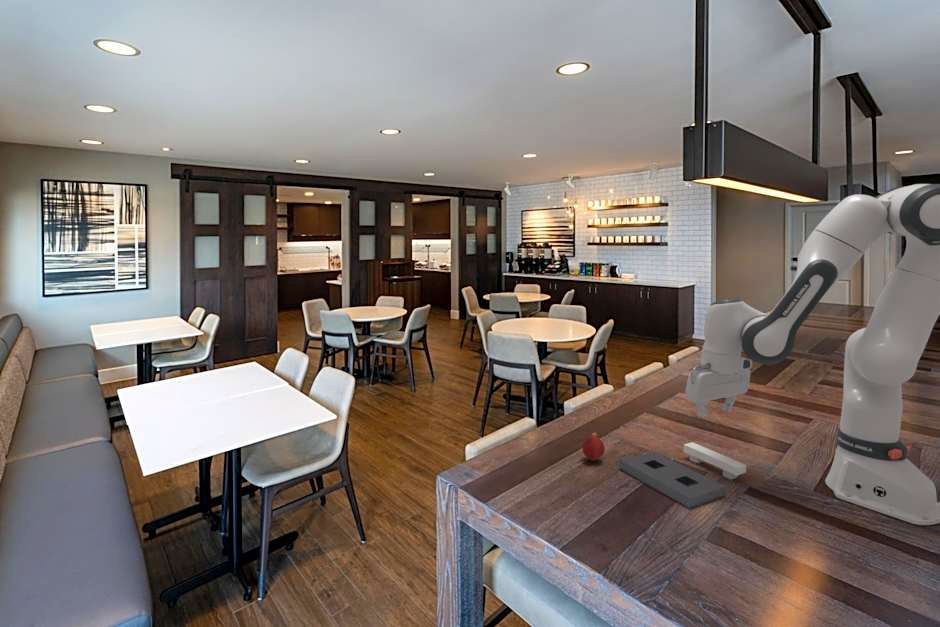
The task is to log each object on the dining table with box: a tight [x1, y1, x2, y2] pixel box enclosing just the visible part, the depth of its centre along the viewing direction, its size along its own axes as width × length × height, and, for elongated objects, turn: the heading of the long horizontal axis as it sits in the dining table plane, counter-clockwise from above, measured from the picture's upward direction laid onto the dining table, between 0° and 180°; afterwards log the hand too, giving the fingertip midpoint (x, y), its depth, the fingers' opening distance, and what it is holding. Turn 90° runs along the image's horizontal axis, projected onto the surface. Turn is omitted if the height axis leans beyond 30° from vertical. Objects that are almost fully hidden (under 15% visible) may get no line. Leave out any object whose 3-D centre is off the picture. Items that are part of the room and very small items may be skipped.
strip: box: [682, 441, 747, 480], centre depth 132 cm, size 16×4×4 cm, turn 27°
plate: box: [619, 451, 727, 509], centre depth 125 cm, size 22×12×2 cm, turn 27°
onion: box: [581, 432, 606, 462], centre depth 137 cm, size 6×6×8 cm
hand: (714, 413), depth 131 cm, fingers open, 8 cm apart
